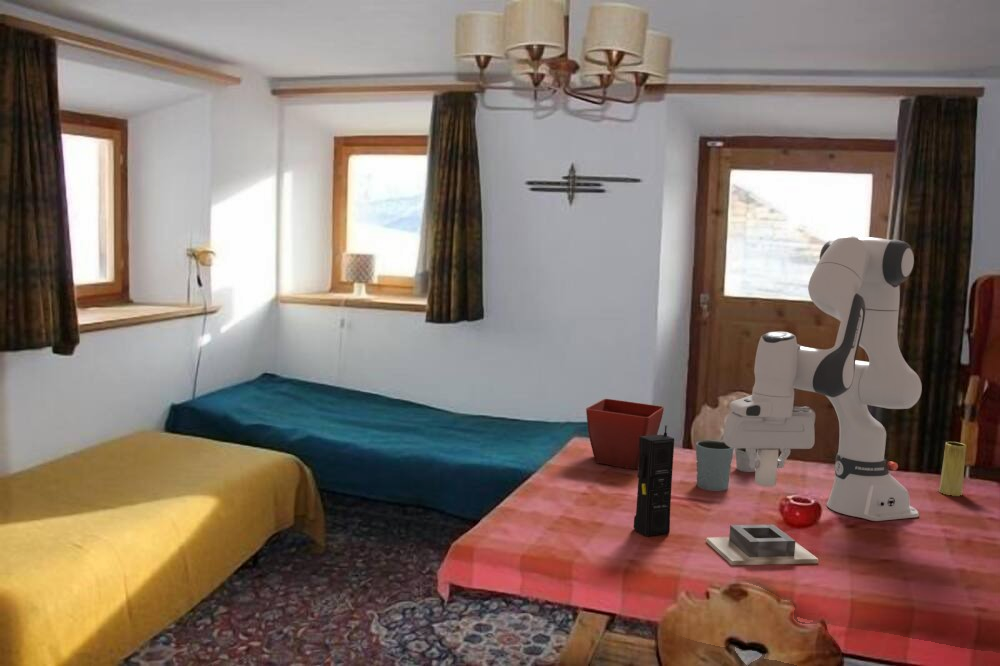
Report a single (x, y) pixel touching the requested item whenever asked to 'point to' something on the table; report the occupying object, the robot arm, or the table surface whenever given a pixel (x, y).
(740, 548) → the end holder
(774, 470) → the connector plug
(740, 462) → the house plant
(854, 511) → the robot arm
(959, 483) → the vase
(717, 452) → the teal cup
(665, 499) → the portable radio
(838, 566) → the table surface
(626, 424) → the plant pot
